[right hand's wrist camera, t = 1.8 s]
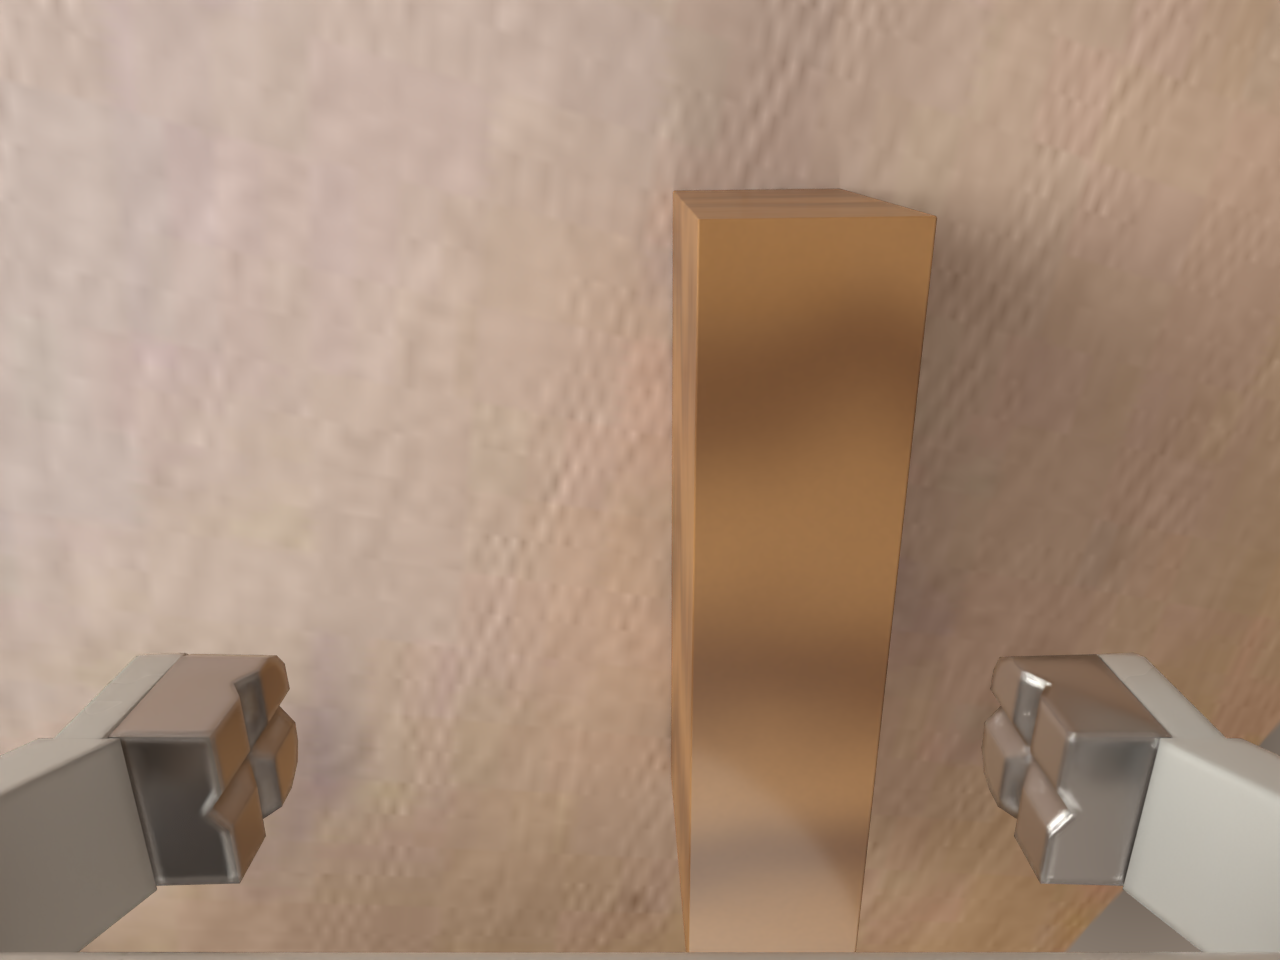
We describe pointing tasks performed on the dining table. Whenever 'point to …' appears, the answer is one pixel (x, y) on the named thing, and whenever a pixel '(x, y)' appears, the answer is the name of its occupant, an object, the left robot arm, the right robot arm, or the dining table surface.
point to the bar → (786, 547)
